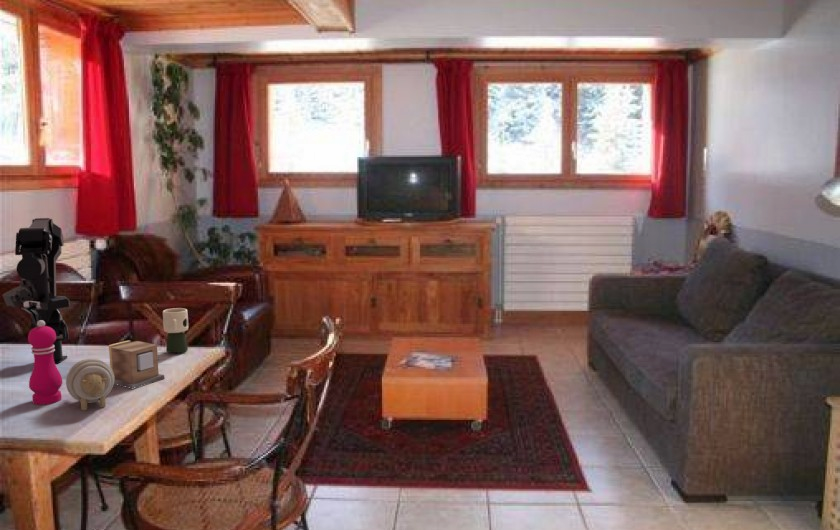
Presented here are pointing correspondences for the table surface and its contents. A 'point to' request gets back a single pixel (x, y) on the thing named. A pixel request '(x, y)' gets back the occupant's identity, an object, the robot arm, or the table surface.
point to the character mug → (176, 329)
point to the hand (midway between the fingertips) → (40, 332)
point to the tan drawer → (142, 358)
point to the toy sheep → (90, 381)
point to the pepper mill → (44, 366)
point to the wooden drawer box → (133, 364)
